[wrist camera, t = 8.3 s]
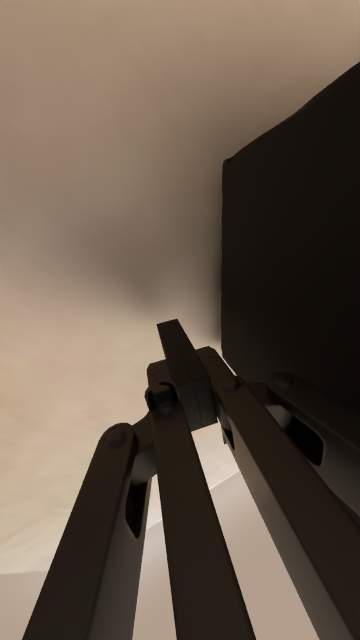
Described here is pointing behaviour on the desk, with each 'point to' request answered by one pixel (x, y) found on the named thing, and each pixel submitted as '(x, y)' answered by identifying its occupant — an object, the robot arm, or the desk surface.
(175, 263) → the desk surface
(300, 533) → the robot arm
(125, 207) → the desk surface
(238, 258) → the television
